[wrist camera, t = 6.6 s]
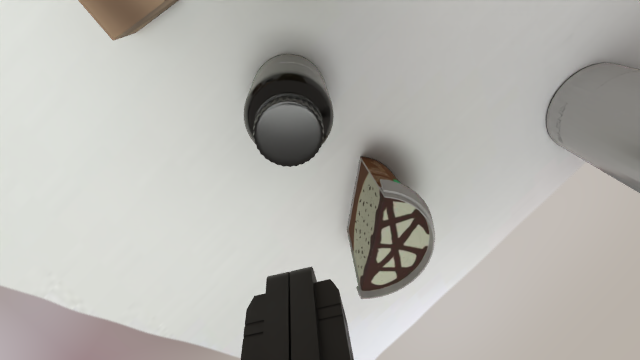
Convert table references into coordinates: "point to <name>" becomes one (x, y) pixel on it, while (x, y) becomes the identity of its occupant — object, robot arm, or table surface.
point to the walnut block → (125, 14)
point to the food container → (387, 231)
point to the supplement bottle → (288, 110)
